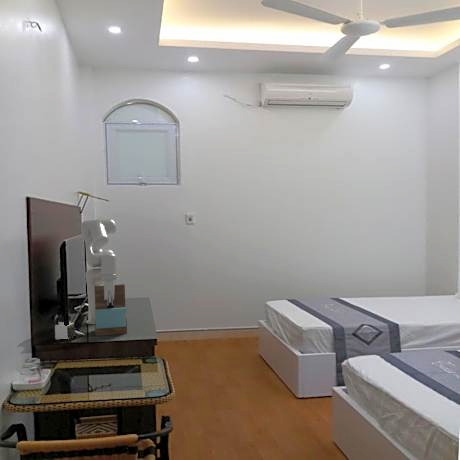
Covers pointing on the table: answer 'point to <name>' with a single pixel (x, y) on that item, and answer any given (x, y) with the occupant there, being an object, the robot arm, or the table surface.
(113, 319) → the panel
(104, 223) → the robot arm
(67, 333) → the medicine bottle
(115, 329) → the striped wooden block
